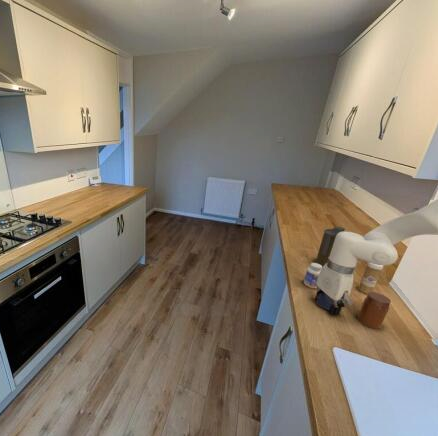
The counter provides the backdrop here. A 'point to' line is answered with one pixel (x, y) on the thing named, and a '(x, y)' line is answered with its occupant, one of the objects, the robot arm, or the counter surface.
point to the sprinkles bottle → (370, 277)
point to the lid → (325, 301)
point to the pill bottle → (312, 275)
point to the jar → (374, 310)
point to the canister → (327, 245)
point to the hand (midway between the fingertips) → (326, 306)
